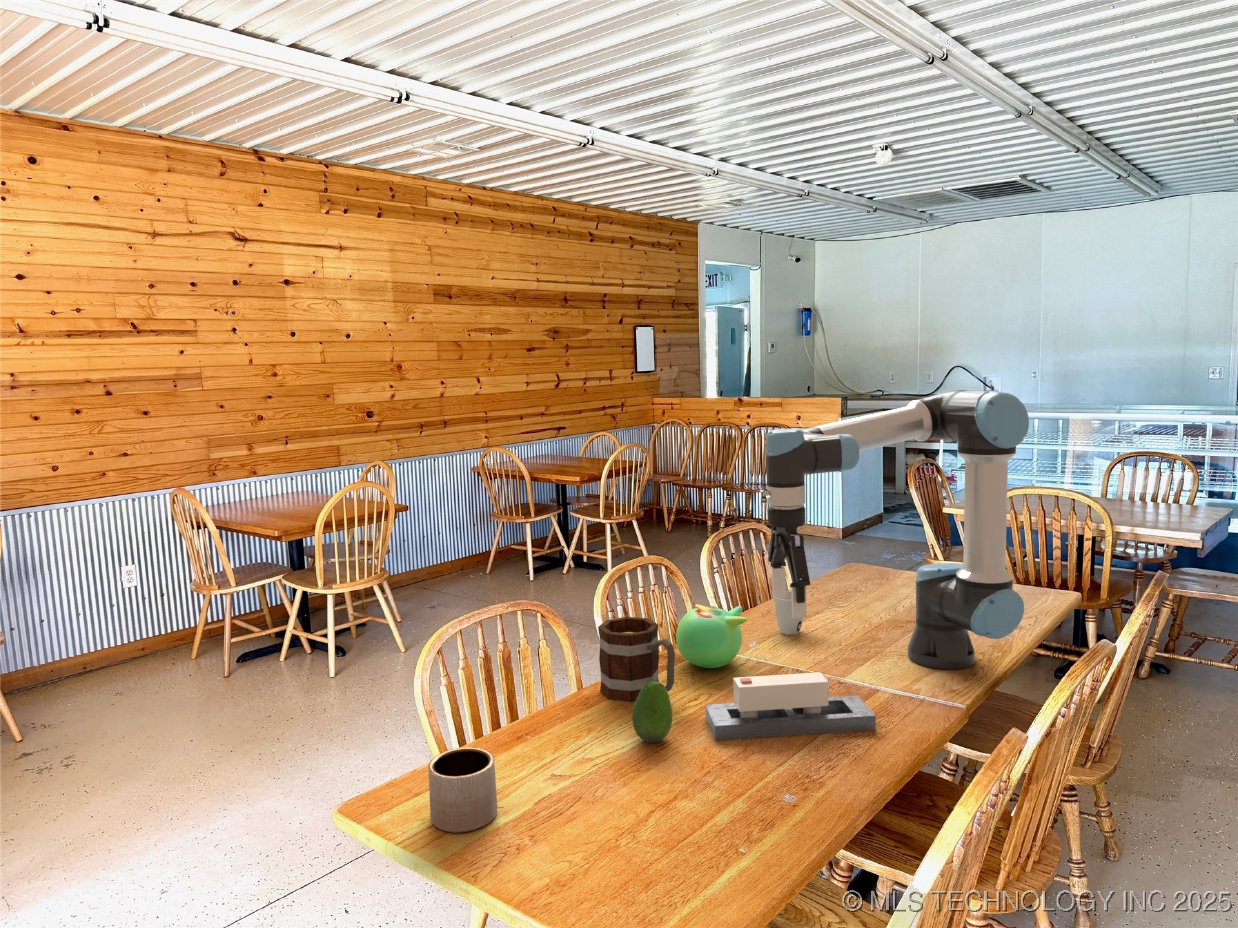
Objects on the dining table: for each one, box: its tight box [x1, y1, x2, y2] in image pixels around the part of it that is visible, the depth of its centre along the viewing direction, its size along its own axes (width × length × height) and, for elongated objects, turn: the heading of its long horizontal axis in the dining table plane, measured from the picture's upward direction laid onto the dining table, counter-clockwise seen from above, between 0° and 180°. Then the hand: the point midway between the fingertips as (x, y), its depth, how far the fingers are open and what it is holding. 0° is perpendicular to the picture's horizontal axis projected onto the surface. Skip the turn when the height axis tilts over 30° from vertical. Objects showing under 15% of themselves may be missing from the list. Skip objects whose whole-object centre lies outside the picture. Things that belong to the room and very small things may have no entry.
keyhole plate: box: [705, 694, 877, 742], centre depth 167 cm, size 32×10×3 cm, turn 95°
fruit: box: [631, 680, 673, 744], centre depth 162 cm, size 8×8×12 cm
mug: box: [597, 616, 676, 703], centre depth 184 cm, size 20×14×15 cm
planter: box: [427, 746, 498, 834], centre depth 137 cm, size 11×11×10 cm
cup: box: [773, 591, 804, 636], centre depth 223 cm, size 8×8×10 cm
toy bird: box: [675, 604, 748, 669], centre depth 201 cm, size 18×17×15 cm
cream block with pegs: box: [732, 671, 829, 718], centre depth 167 cm, size 18×5×10 cm, turn 95°
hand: (788, 607), depth 171 cm, fingers open, 13 cm apart
